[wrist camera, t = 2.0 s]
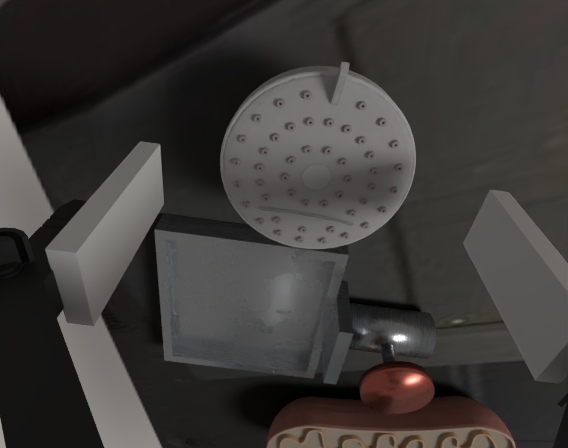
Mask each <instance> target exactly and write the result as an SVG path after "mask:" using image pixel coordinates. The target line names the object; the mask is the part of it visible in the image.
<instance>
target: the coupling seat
mask: <svg viewBox="0 0 568 448" xmlns="http://www.w3.org/2000/svg"><path fill="white" fill-rule="evenodd" d="M154 231H155V244H156V257H157V269H158V282H159V295H160V308H161V321H162V334H163V347H164V359H165V360H166V361H174V362H182V363H190V364H198V365H207V366H215V367H223V368H231V369H240V370H248V371H256V372H264V373H272V374H281V375H289V376H297V377H305V378H314V375H315V372H316V368H317V365H318V361H319V358H320V354H321V351H322V359H323V383H328V384H336V383H337V380H338V378H339V375H340V372H341V369H342V366H343V363H344V360H345V357H346V354H347V352H348V349H353V350H361V351H369V352H377V353H382V357H383V362H384V363H382V364H379V365H376V366H374V367H372V368H370V369H369V370H367V371H366V372H365V373H364V374H363V375H362V376H361V378H360V381H359V389H360V397H361V400H362V402H363V403H364V404H365V405H366V406H367V407H369V408H370V409H372V410H374V411H377V412H381V413H386V414H403V413H409V412H412V411H415V410H418V409H420V408H422V407H424V406H425V405H427V404H428V403H429V402H430V401H431V400H432V398H433V396H434V393H435V389H434V385H433V382H432V379H431V376H430V374H429V372H428V371H427V370H426V369H424V368H423V367H421V366H419V365H417V364H414V363H410V362H403V361H397V358H396V355H401V356H409V357H417V358H425V359H427V358H429V357H430V356H431V355H432V353H433V351H434V348H435V342H436V327H435V322H434V319H433V317H432V316H431V314H429V313H426V312H418V311H410V310H402V309H395V308H387V307H379V306H371V305H363V304H356V303H350V300H349V292H348V284H347V282H344V281H342V277H343V274H344V270H345V267H346V263H347V260H348V256H349V253H348V245H347V244H346V245H343V246H339V247H335V248H326V249H305V248H298V247H292V246H289V245H285V244H282V243H279V242H277V241H274V240H272V239H270V238H268V237H266V236H264V235H263V234H261V233H259V232H258V231H256V230H255V229H254V228H252V227H251V226H250V225H245V224H237V223H230V222H222V221H215V220H207V219H200V218H192V217H185V216H177V215H169V214H163V215H162V217H161V219H160V221H159V222H158V224H157V226H156V228H155V229H154Z"/></svg>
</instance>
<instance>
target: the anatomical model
mask: <svg viewBox="0 0 568 448" xmlns="http://www.w3.org/2000/svg"><path fill="white" fill-rule="evenodd" d="M266 448H516V446H515V443H514V440H513V438H512V436H511V434H510V432H509V430H508V429H507V427H506V426H505V424H504V423H503V422H502V421H501V419H500V418H499V417H498V416H497V415H496V414H495V413H494V412H493V411H491V410H490V409H489V408H487V407H486V406H485V405H483V404H481V403H479V402H477V401H475V400H473V399H469V398H466V397H461V396H447V397H434V398H432V400H431V401H430V402H429V403H428V404H427V405H425V406H424V407H422V408H420V409H418V410H415V411H412V412H409V413H403V414H386V413H381V412H377V411H374V410H372V409H370V408H369V407H367V406H366V405H365V404H364V403H363V402H362V400H353V399H340V398H327V397H314V396H308V397H302V398H299V399H296V400H294V401H292V402H290V403H289V404H287V405H286V406H285V407H284V408H283V409H281V411H280V412H279V413H278V414H277V415H276V417H275V419H274V420H273V422H272V425H271V427H270V430H269V433H268V437H267V447H266Z"/></svg>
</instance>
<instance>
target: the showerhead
mask: <svg viewBox="0 0 568 448" xmlns="http://www.w3.org/2000/svg"><path fill="white" fill-rule="evenodd" d="M415 165H416V151H415V144H414V139H413V135H412V132H411V129H410V127H409V125H408V122H407V120H406V118H405V117H404V115H403V114H402V112H401V110H400V109H399V108H398V107H397V105H396V104H395V103H394V102H393V100H392V99H391V98H390V97H389V96H388V95H387V94H386V92H385V91H384V90H383V89H382V88H380V87H379V86H378V85H377V84H375V83H374V82H372V81H371V80H369V79H368V78H366V77H364V76H362V75H360V74H357V73H355V72H352V71H349V63H347V62H341V64H340V67H339V68H337V67H330V66H309V67H302V68H297V69H293V70H290V71H287V72H284V73H281V74H279V75H277V76H275V77H273V78H271V79H269V80H268V81H266V82H265V83H263V84H261V85H260V86H259V87H258V88H257V89H256V90H254V91H253V92H252V93H251V94H250V95H249V96H248V97H247V98H246V99H245V101H244V102H243V103H242V104H241V106H240V107H239V109H238V110H237V112H236V113H235V115H234V117H233V118H232V120H231V122H230V124H229V126H228V128H227V130H226V133H225V136H224V139H223V142H222V146H221V153H220V171H221V177H222V182H223V185H224V189H225V191H226V194H227V196H228V198H229V200H230V202H231V204H232V205H233V207H234V208H235V210H236V211H237V212H238V214H239V215H240V216H241V217H242V218H243V219H244V220H245V221H246V222H247V223H248V224H249V225H250V226H251V227H252V228H254V229H255V230H256V231H258V232H259V233H261V234H263V235H264V236H266V237H268V238H270V239H272V240H274V241H277V242H279V243H282V244H285V245H289V246H292V247H298V248H305V249H326V248H335V247H339V246H343V245H346V244H350V243H353V242H355V241H357V240H360V239H362V238H364V237H366V236H368V235H370V234H371V233H373V232H374V231H376V230H377V229H379V228H380V227H381V226H382V225H384V224H385V223H386V222H387V221H388V220H389V219H390V218H391V217H392V216H393V215H394V214H395V213H396V211H397V210H398V209H399V207H400V206H401V205H402V203H403V201H404V200H405V198H406V196H407V194H408V192H409V190H410V187H411V184H412V181H413V177H414V173H415Z"/></svg>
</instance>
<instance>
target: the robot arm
mask: <svg viewBox="0 0 568 448" xmlns="http://www.w3.org/2000/svg"><path fill="white" fill-rule="evenodd" d="M163 204H164V197H163V181H162V166H161V150H160V144H156V143H149V142H142V141H140V142H139V143H138V145H137V146H136V147H135V148H134V149H133V150H132V151H131V152H130V154H129V155H128V156H127V157H126V158H125V159H124V160H123V161H122V163H121V164H120V165H119V166H118V167H117V168H116V169H115V170H114V172H113V173H112V174H111V175H110V176H109V177H108V178H107V179H106V181H105V182H104V183H103V184H102V185H101V186H100V187H99V189H98V190H97V191H96V192H95V193H94V194H93V195H92V196H91V198H90V199H89V200H88V201H82V200H75V199H74V200H72V201H70V202H68V203H66V204H65V205H63V206H61V207H59V208H58V209H57V210H56V211H55V212H54V213H53V214H52V215H51V216H50V219H47V221H46V222H45V223H44V224H43V225H42V227H40V228H39V229H38V230H37V231H36V232H35V233H34V234H33V235H32V236H31V237H30V238H29V239H28V236H27V235H26V234H25V233H24V232H23V231H21V230H18V229H15V228H0V418H1V423H2V429H3V434H4V439H5V445H6V448H104V446H103V443H102V441H101V438H100V435H99V433H98V430H97V427H96V424H95V422H94V419H93V416H92V413H91V411H90V408H89V405H88V402H87V400H86V397H85V394H84V392H83V389H82V386H81V383H80V381H79V378H78V375H77V372H76V370H75V367H74V364H73V362H72V359H71V356H70V354H69V351H68V348H67V345H66V342H65V340H64V337H63V334H62V332H61V329H60V326H59V323H58V321H57V317H58V316H59V314H60V312H61V311H62V310H63V311H64V314H65V317H66V321H67V322H68V323H75V324H83V325H91V326H94V324H95V323H96V321H97V319H98V318H99V316H100V314H101V312H102V311H103V309H104V307H105V305H106V304H107V302H108V300H109V298H110V297H111V295H112V293H113V291H114V290H115V288H116V286H117V285H118V283H119V281H120V279H121V278H122V276H123V274H124V272H125V271H126V269H127V267H128V265H129V264H130V262H131V260H132V258H133V257H134V255H135V253H136V251H137V250H138V248H139V246H140V244H141V243H142V241H143V239H144V237H145V236H146V234H147V232H148V231H149V229H150V227H151V225H152V224H153V222H154V220H155V218H156V217H157V215H158V213H159V211H160V210H161V208H162V206H163ZM463 245H464V247H465V248H466V250H467V252H468V254H469V256H470V258H471V260H472V262H473V264H474V265H475V267H476V269H477V271H478V273H479V275H480V277H481V279H482V281H483V283H484V284H485V286H486V288H487V290H488V292H489V294H490V296H491V298H492V300H493V302H494V303H495V305H496V307H497V309H498V311H499V313H500V315H501V317H502V319H503V321H504V322H505V324H506V326H507V328H508V330H509V332H510V334H511V336H512V338H513V339H514V341H515V343H516V345H517V347H518V349H519V351H520V353H521V355H522V357H523V358H524V360H525V362H526V364H527V366H528V368H529V370H530V372H531V374H532V376H533V377H534V379H535V381H544V382H552V383H561V382H562V381H563V380H564V379H565V378H566V377H567V375H568V263H567V262H566V261H565V259H564V258H563V257H562V256H561V255H560V253H559V252H558V251H557V250H556V249H555V247H554V246H553V245H552V244H551V243H550V241H549V240H548V239H547V238H546V236H545V235H544V234H543V233H542V232H541V230H540V229H539V228H538V227H537V226H536V224H535V223H534V222H533V221H532V220H531V218H530V217H529V216H528V215H527V214H526V212H525V211H524V210H523V209H522V208H521V206H520V205H519V204H518V203H517V202H516V200H515V199H514V198H513V197H512V195H511V194H510V193H509V192H503V191H496V190H490V191H489V193H488V195H487V197H486V199H485V201H484V203H483V205H482V207H481V209H480V211H479V213H478V215H477V217H476V219H475V221H474V223H473V225H472V227H471V229H470V231H469V233H468V235H467V237H466V239H465V241H464V243H463ZM565 403H567V406H566V409H565V412H564V415H563V418H562V421H561V424H560V427H559V430H558V433H557V436H556V440H555V443H554V446H553V448H568V394H567V395H566V396H565V397H564V398H563V399H562V400H561V401H560V402H559V403H558V405H560V406H561V407H562V406H563V405H564V404H565Z"/></svg>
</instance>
